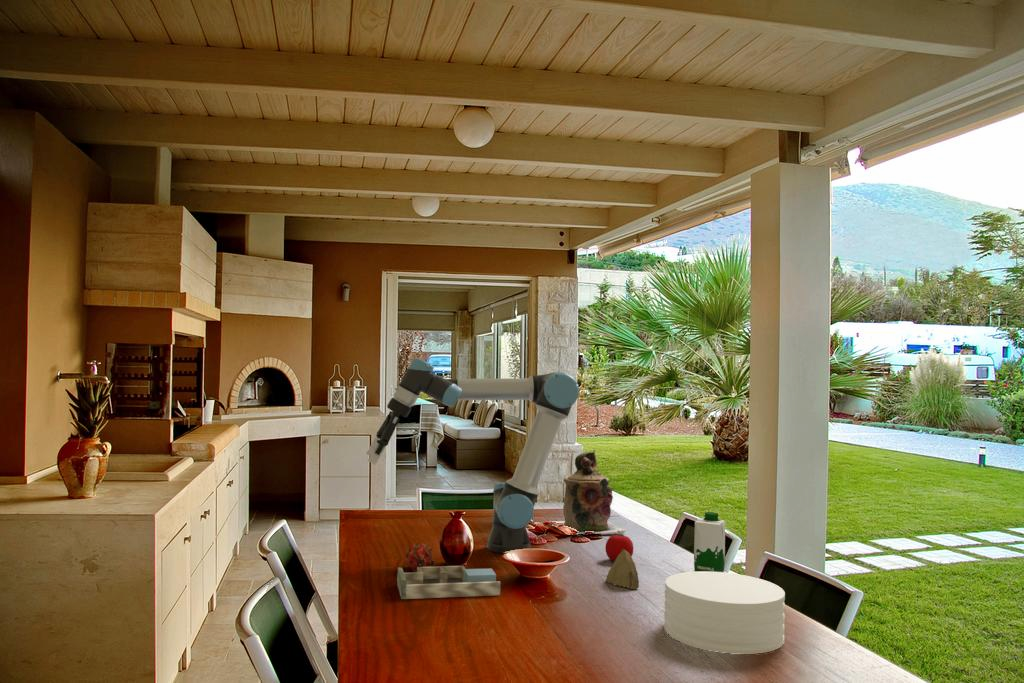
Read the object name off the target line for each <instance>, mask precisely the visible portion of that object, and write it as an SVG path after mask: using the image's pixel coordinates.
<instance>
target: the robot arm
mask: <svg viewBox="0 0 1024 683" xmlns="http://www.w3.org/2000/svg"><path fill="white" fill-rule="evenodd" d="M434 369H435V367H434V365H432V364H431V363H429V362H427V361H425V360H424V359H422V358H420V357H414V358H413V360H412V361H411V363H410V364H409V366H408V367H407V369H406V371H405V373H404V374H403V377H402V379H401V381H400V382H399V384H398V386H396V387H395V388H394V390H395V391H394V393H393V395H392V396H393V397H391V398H390V400H389V402H388V403H387V405H386V408H388V409H389V410H390V411H389V412H388V414H387V416H386V417H385V418H384V419H385V420H384V421H383V423H381V426H380V427H379V429H378V430H377V432H376V434H375V435H376V436H375V437H374V439H373V441H372V442H371V444H370V446H369V448H368V450H367V451H366V455H368V456H369V457H368V459H367V462H369V463H371V464H372V465H374V466H376V464H377V463H378V461H379V459H380V457H381V456H382V454H383V452H384V450H385V448H386V447H387V446H388V445H389V442H390V440H391V438H392V436H393V434H394V432H395V430H396V427H397V425H398V424H399V422H400V420H401V419H400V416H401V417H402V418H403V417H404V418H407V417H408V416H409V414H410V413H411V410H412V407H414V406H415V404H416V402H417V400H418V398H419V396H420V394H421V393H423V394H425V395H427V396H428V397H430V398H433V399H434V400H436V401H438V402H439V403H441V404H442V405H444V406H448V407H449V408H454V407H455V405H456V403H457V402H458V401H520V400H521V401H529V402H530V403H535V407H536V410H537V412H536V415H535V417H534V420H533V423H532V426H531V428H530V430H529V433H528V436H527V439H526V441H525V443H524V446H523V448H522V452H521V454H520V457H519V460H518V462H517V465H516V467H515V471H514V473H513V476H512V477H511V478H509V479H507V480H506V481H505V482H496V483H495V484H494V486H493V490H492V492H493V503H492V504H493V505H492V506H493V508H492V509H493V510H492V528H491V531H490V533H489V536H488V539H487V541H486V542H487V543H486V549H487V548H488V549H489V550H488V549H487V550H488V551H490V550H492V551H491V552H493V551H495V552H494V553H498V552H501V553H500V554H504V553H503V552H505V551H510V550H515V549H523V548H530V549H531V542H530V537H529V535H528V534H529V533H528V529H527V526H528V524H529V523H530V524H531V521H532V520H533V518H534V514H535V505H536V503H537V499H538V497H539V491H538V489H537V488H538V487H537V486H538V483H539V480H540V478H541V476H542V473H543V470H544V469H545V466H546V462H547V460H548V457H549V456H550V453H551V449H552V447H553V444H554V442H555V439H556V436H557V434H558V432H559V428H560V426H561V423H562V421H563V420H565V419H567V418H568V417H569V414H570V411H571V409H572V406H573V405H575V403H576V402H577V400H578V398H579V395H580V387H579V384H578V382H577V380H576V379H575V378H574V377H573V376H572V375H571V374H569V373H568V372H563V371H559V372H558V371H556V372H550V373H546V374H545V373H544V374H539V375H537V374H536V375H529V376H528V377H526V378H525V377H524V378H523V377H521V378H518V377H517V378H513V377H512V378H444V377H442V376H440V375H438V374H437V373H435V372H434Z"/></svg>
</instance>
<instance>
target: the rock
mask: <svg viewBox="0 0 1024 683" xmlns="http://www.w3.org/2000/svg"><path fill="white" fill-rule="evenodd" d="M632 557H633V556H632ZM632 557H631V555H630V553H629V552H627V551H626V550H624V549H623V550H622V551H621V553H620V554H619V555H618V557H617V558H616V560H615V561H613V563H612V566H611V567H610V569H609V570H608V573H607V575H606V578H605V581H607V582H606V583H609V582H610V583H612V584H611V585H613V584H615V585H614V586H616V585H619V586H618V587H621V586H623V587H622V588H625V587H627V589H629V588H630V590H638V589H639V584H640V580H639V576H638V571H637V567H636V563H635V562H634V560H633V558H632ZM605 581H604V582H605ZM610 583H609V584H610ZM637 588H638V589H637Z"/></svg>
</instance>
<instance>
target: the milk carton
mask: <svg viewBox="0 0 1024 683" xmlns="http://www.w3.org/2000/svg"><path fill="white" fill-rule="evenodd" d="M693 531H694V541H693V545H694V546H693V567H694V568H693V569H694V570H693V572H696V571H711V572H725V564H726V563H725V561H726V558H725V556H726V546H725V545H726V521H725V519H719V513H718V512H712V511H706V512H704V517H700V518H698V519H696V520H695V521H694V530H693Z"/></svg>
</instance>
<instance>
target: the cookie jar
mask: <svg viewBox="0 0 1024 683" xmlns="http://www.w3.org/2000/svg"><path fill="white" fill-rule="evenodd" d="M595 453H596V449H593V450H592V451H587V452H583V453H579V454H577V456H576V457H575V459H574V465H575V468H576V471H575V472H574V473H572V474H570V475H566V476H564V478H563V482H564V483H565V492H564V498H563V507H562V510H563V511H562V512H563V516H564V520H556V521H555V520H549V523H550V522H551V521H552V522H556V523H563V524H564V525H565V526H568V527H571V528H574V529H576V530H577V531H579V532H578V533H579V534H583V535H586V534H585V533H586V532H585V531H594V532H592V533H597V534H601V536H603V535H606V536H607V535H623V534H624V533H625V532H626V531H627V529H626V528H621V527H619V526H616V525H614V524H613V523H611V522H610V521H608V520H609V519H610V518H611V514H612V513H611V512H612V510H611V505H612V502H613V499H614V496H613V487H612V486H609V484H610V482H611V480H610V478H609V477H606V476H604V474H603V473H602V472H601V471H599V469H598V465H597V456H596V454H595ZM608 486H609V487H608ZM618 531H619V534H618Z"/></svg>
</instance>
